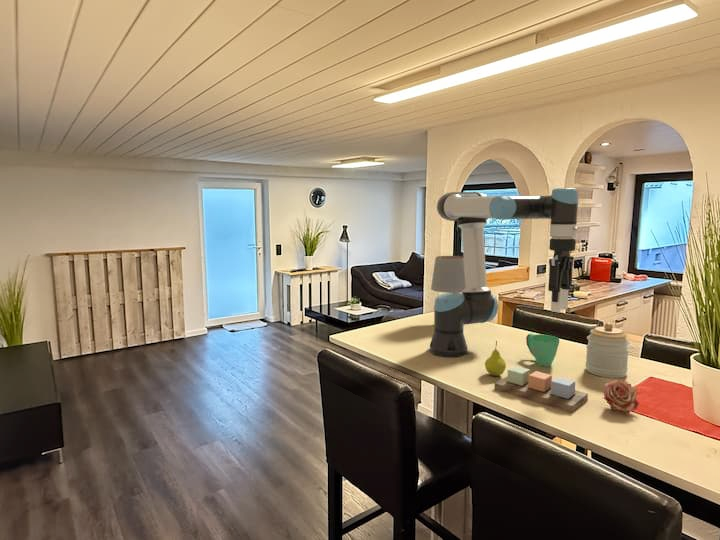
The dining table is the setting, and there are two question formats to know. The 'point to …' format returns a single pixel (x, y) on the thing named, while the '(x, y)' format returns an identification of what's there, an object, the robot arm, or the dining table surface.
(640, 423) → the dining table surface
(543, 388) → the button terracotta
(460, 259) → the lamp
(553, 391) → the button slate
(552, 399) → the button board
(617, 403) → the flower
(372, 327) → the dining table surface
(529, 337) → the mug
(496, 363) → the fruit
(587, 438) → the dining table surface
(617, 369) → the jar
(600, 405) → the dining table surface
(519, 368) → the button sage
